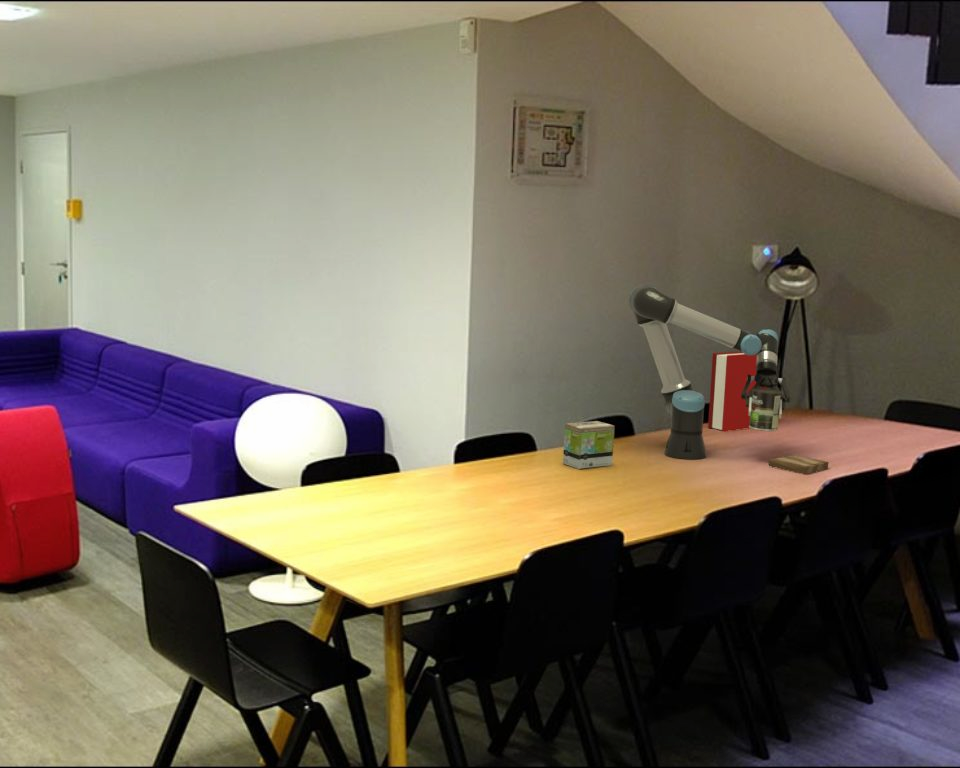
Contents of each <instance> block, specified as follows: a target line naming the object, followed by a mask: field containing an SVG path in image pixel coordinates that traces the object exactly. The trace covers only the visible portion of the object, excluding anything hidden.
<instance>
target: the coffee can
mask: <svg viewBox="0 0 960 768" xmlns="http://www.w3.org/2000/svg"><path fill="white" fill-rule="evenodd" d="M779 390H780V389H779ZM779 390H774V389H771V388H754V389H752V403H751V416H750V422H749V428H748V429H752V430H756V431H762V432H776V431H778V429H779V428H778V425H779V406H780V397H781V392H782V391H781V390H780V391H779Z"/></svg>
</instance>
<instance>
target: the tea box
mask: <svg viewBox="0 0 960 768" xmlns="http://www.w3.org/2000/svg"><path fill="white" fill-rule="evenodd" d="M564 426H565V427H564V439H563V455H562V464H563V465H565V466H566V465H567V466H569V467H572V468H575V469H577V470H582V469H587V468H597V467H611V466H612V465H613V458H614V457H613V455H614V444H615V443H614V442H615V440H614V439H615V425H613V424H610V423H606V422H603V421H602V422H601V421H598V420H594V421H583V422H571V423H565V424H564ZM610 465H611V466H610Z"/></svg>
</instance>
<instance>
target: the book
mask: <svg viewBox="0 0 960 768" xmlns="http://www.w3.org/2000/svg"><path fill="white" fill-rule="evenodd" d="M756 363H757V354H755V355H746V354H744V353H743V352H740V351H738V350H735V351H723V352H721V351H720V352H712V361H711V372H710V373H711V374H710V375H711V376H710V389H709V390H710V391H709V392H710V394H709V405H708V406H709V407H708V408H709V409H708V421H707V422H708V424H707V429H716V430H721V432H722V431H724V432H729V431H728V430H732V431H737V430H736V429H740V430H744V429H743V428H748V429H750V428H749V422H750V416H748V413H749V407H746V400H745V399H742V398H741V394H742V391H743V389H744V387H745V384H746V382H747V376H748V375H751V376H755V375H756V366H757V365H756ZM756 383H757V382H756V381H755V380H753V381H752V382H751V383H750V386H749V388H748V391H747V393H746V394H748V393H749V392H750V390H751V389H752V388H753V387H754V386H755V384H756ZM760 388H762V387H760ZM765 388H766V387H765Z"/></svg>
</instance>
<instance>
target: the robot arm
mask: <svg viewBox="0 0 960 768" xmlns="http://www.w3.org/2000/svg"><path fill="white" fill-rule="evenodd" d="M628 302H629V303H628V304H629V306H630V309H631V310H632V311H633V313H634V314H633V315H634V317H635V320H636V322H637V326H640V327H642V329H643V331H644V334H645V337H646V339H647V342H648V346H649V348H650V351H651V355H652V357H653V360H654V363H655V366H656V368H657V372H658V374H659V377H660V380H661V383H662V385H663V386H662V388H661V391H660V392H661V395H662V398H663V402H664V407H665V410H666V412H667V414H668V415H669V416H670V417H671V418H670V420H671V421H670V434H669V436H668V439H667V441H666V444H665V446H664V455H665V456H666V457H667V456H668V457H670V458H675V459H683V460H699V459H703V458H705V457H707V456H706V455H707V449H706V446H705V441H704V437H703V429H704V428H703V427H704V415H705V414H704V413H705V405H706V401H705V397H704V395H703V394H702V393H701V392H697V391H696V390H694V389H693V386H692V383H691V381H690V380H689V379H686V378H685V374H684V372H683V370H682V369H683V368H682V366H681V363H680V360H679V357H678V354H677V352H676V348H675V346H674V342H673V340H672V337H671V334H670V332H669V328H668V325H667V324H669V323H670V324H671V325H675V326H678V327H680V328H681V329H685V330H687V331H689V332H692V333H694V334H697V335H699V336H701V337H705V338H707V339H709V340H711V341H714V342H717V343H718V344H722V345H723V346H725V347H727V348H731V349H734V350H735V351H740V352H743V353H744V354H746V355H755V354H757V363H756V365H757V366H756V375H755V376H751V375H748V376H747V382H746V384H745V387H744V389H743V391H742V394H741V398H742V399H745V400H746V407H749V413H748V416H751V403H752V389H754V388H760V387H762V388H765V387H766V388H767V389H774V390H779V391H781V390H780V388H779V386H780V385H781V389H782V391H781V397H780V406H779V417H778V419H782V414H783V413H782V411H784V410H785V408H786V403H790V401H791V394H790V392H789V388H788V386H787V383H786V377H785V376H784V377H782V378H781V377H778V348H779V347H778V346H779V338H778V334H777V332H776V331H774V330H772V329H761V330H760V331H759V332H758V333H756V332H753V331H748V330H746V329H745V330H744V329H741V328H738V327H735V326H733V325H731V324H729V323H726V322H724V321H721V320H719V319H716V318H714V317H712V316H709V315H707V314H705V313H702V312H699V311H698V310H695V309H692V308H690V307H688V306H685V305H683V304H681V303H678V301H677V299H676V298H673V297H670V296H668V295H667V294H665V293H664V292H662V291H661V290H660V289H658V288H656V287H655V286H653V285H651V284H641V285H639V286H637V287H635V288H634V289H633V290H632V292H631V293H630V296H629V300H628ZM753 380H755V381H756V382H757V383H756V384H755V386H754V387H753V388H752V389H751V390H750V392H749V393H748V394H746V393H747V391H748V388H749V386H750V383H751V382H752V381H753ZM777 383H778V384H779V386H778V385H777Z"/></svg>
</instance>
